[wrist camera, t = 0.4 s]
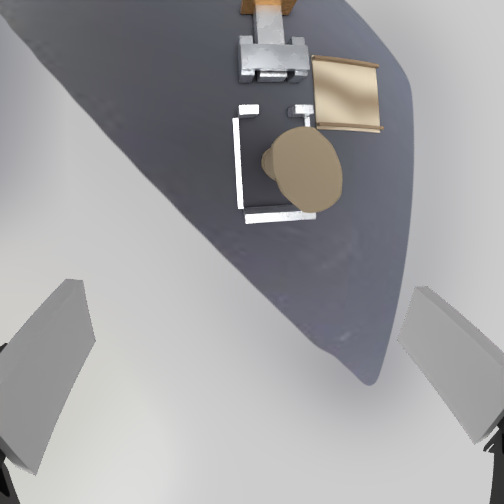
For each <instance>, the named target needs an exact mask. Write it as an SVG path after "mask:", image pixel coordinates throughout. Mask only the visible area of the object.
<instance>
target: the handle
mask: <svg viewBox="0 0 504 504" xmlns="http://www.w3.org/2000/svg"><path fill="white" fill-rule="evenodd" d="M261 162H262V164H261V166H262V168H263V170H264V171H265V173H266V174H267V175H268V176H269V177H270V178H271V179H273V180H275V181H276V183H277V185H278V187H279V189H280V191H281V193H282V194H283V195H284V196H285V197H286V198H287V199H288V200H289V201H290V202H292V203H293V204H294V205H295V206H296V207H297V208H299V209H300V210H301V211H302V212H305V213H316V212H320V211H323V210H325V209H327V208H329V207H331V206H332V205H333V204H334V203H336V201H337V200H338V199H339V197H340V196H341V193H342V168H341V165H340V162H339V159H338V157H337V154H336V152H335V150H334V148H333V146H332V145H331V143H330V142H329V141H328V140H327V139H326V138H325V137H324V136H323V135H322V134H321V133H320V132H319V131H317V130H316V129H315V128H313V127H307V126H302V127H296V128H293V129H290V130H288V131H286V132H284V133H282V134H281V135H279V136H278V137H277V138H276V139H275V141H274V142H273V143H272V145H271V148H269V149H268V150H266V151H265V152H264V153H263V156H262V161H261Z"/></svg>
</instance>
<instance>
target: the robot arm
mask: <svg viewBox="0 0 504 504" xmlns="http://www.w3.org/2000/svg"><path fill="white" fill-rule="evenodd" d="M95 341H96V340H95V336H94V332H93V328H92V324H91V319H90V315H89V310H88V305H87V301H86V296H85V290H84V284H83V280H73V279H66V280H65V281H64V282H63V283H62V284H61V285H60V286H59V287H58V288H57V289H56V290H55V291H54V292H53V293H52V294H51V295H50V296H49V297H48V298H47V299H46V300H45V302H44V303H43V304H42V305H41V306H40V307H39V308H38V309H37V310H36V311H35V312H34V314H33V315H32V316H31V317H30V318H29V319H28V320H27V322H26V323H25V324H24V325H23V326H22V327H21V329H20V330H19V331H18V332H17V333H16V334H15V336H14V337H13V338H12V339H11V341H10V342H9V343H5V344H4V345H2V346H0V504H20V502H19V500H18V497H17V494H16V492H15V489H14V486H13V483H12V481H11V477H10V474H9V471H8V469H7V467H6V465H5V464H4V463H3V462H4V460H5V457H7V458H8V459H9V460H10V461H11V462H12V463H13V464H14V465H15V466H16V467H17V468H20V469H22V470H24V471H26V472H29V473H31V474H33V475H36V474H37V472H38V469H39V466H40V463H41V460H42V458H43V455H44V452H45V450H46V447H47V444H48V442H49V439H50V437H51V434H52V432H53V430H54V427H55V425H56V422H57V420H58V418H59V415H60V413H61V411H62V409H63V406H64V404H65V402H66V400H67V398H68V395H69V393H70V391H71V388H72V387H73V384H74V383H75V380H76V378H77V376H78V374H79V372H80V370H81V368H82V366H83V364H84V362H85V360H86V358H87V357H88V355H89V352H90V351H91V349H92V347H93V345H94V343H95ZM397 341H398V342H399V343H400V345H401V346H402V347H403V348H404V350H405V351H406V352H407V353H408V355H409V356H410V357H411V358H412V359H413V361H414V362H415V363H416V365H417V366H418V367H419V369H420V370H421V371H422V372H423V374H424V375H425V377H426V378H427V379H428V380H429V382H430V383H431V384H432V386H433V387H434V388H435V390H436V391H437V392H438V394H439V395H440V396H441V398H442V399H443V401H444V402H445V403H446V405H447V406H448V407H449V409H450V410H451V411H452V413H453V414H454V416H455V417H456V418H457V420H458V421H459V423H460V424H461V426H462V427H463V429H464V430H465V431H466V433H467V434H468V436H469V437H470V439H471V440H472V442H473V443H474V444H476V443H478V442H480V441H481V440H483V439H485V438H486V437H488V435H489V434H490V433H491V432H492V431H493V429H494V428H495V427H496V426H498V428H499V430H498V431H497V432H496V434H495V435H494V436H493V437H492V438H491V439H490V441H489V442H488V443H487V444H486V445H485V447H484V450H483V451H486V450H487V449H488V448H489V447H490V446H491V445H492V444H494V445H493V446H492V447H491V448H490V450H489V452H490V453H494V469H493V481H492V490H491V498H490V504H504V353H503V352H502V351H501V350H500V349H499V348H498V347H497V346H496V345H495V344H494V343H493V342H492V341H491V340H489V339H488V338H487V337H486V336H485V335H484V334H483V333H482V332H480V330H479V329H477V328H476V327H475V326H474V325H473V324H472V323H471V322H469V321H468V320H467V319H466V318H465V317H464V316H462V315H461V314H460V313H459V312H458V311H457V310H456V309H454V308H453V307H452V306H451V305H450V304H448V303H447V302H446V301H445V300H444V299H442V298H441V297H440V296H439V295H438V294H436V293H435V292H434V291H433V290H431V289H430V288H429V287H428V286H425V287H415V288H414V292H413V295H412V298H411V302H410V305H409V308H408V311H407V313H406V316H405V319H404V322H403V325H402V328H401V331H400V333H399V336H398V339H397Z"/></svg>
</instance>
